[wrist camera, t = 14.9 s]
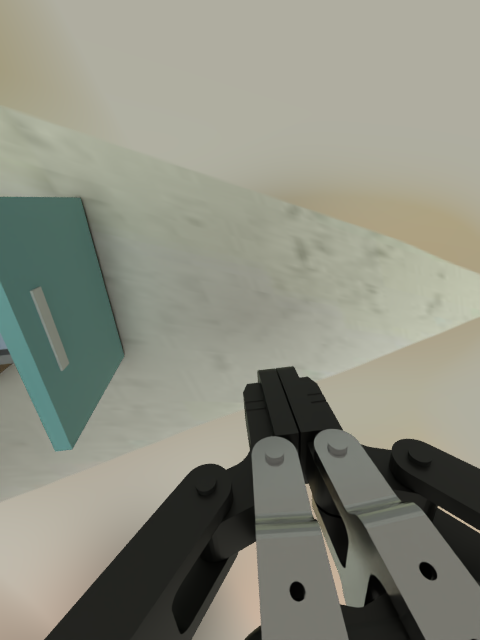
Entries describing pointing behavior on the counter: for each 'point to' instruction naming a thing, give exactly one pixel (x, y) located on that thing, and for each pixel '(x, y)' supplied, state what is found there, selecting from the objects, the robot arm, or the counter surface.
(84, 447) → the counter surface
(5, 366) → the cabinet
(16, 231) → the drawer
